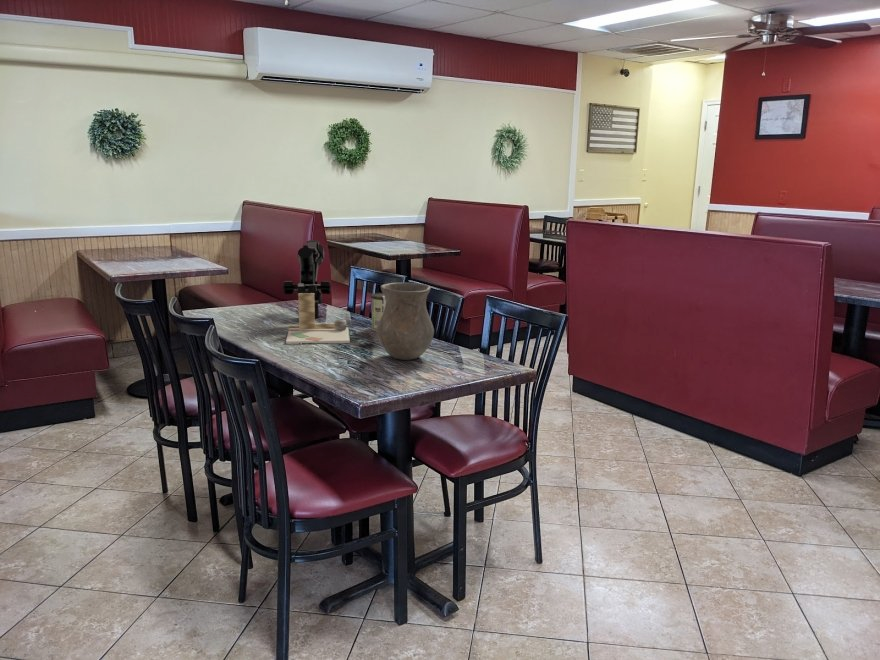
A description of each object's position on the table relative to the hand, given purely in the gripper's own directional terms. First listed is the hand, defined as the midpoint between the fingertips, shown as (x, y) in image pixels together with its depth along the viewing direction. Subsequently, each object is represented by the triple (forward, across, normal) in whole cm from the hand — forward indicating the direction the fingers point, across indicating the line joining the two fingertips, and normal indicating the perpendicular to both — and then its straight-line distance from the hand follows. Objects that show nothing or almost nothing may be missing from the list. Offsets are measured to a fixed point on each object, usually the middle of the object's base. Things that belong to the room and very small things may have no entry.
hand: (306, 304), depth 275 cm
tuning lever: (+10, -4, -1) cm, 11 cm away
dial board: (+16, -5, +2) cm, 17 cm away
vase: (+40, -35, +25) cm, 58 cm away
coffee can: (+8, -31, -6) cm, 32 cm away
